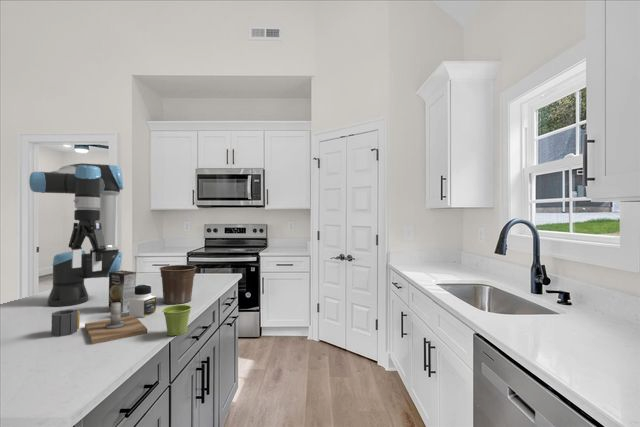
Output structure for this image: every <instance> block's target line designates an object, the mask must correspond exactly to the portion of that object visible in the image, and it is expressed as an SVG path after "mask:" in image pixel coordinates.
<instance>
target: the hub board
mask: <svg viewBox="0 0 640 427" xmlns="http://www.w3.org/2000/svg"><path fill="white" fill-rule="evenodd" d="M121 313H122V312H121V303H119V302H117V303H112V304H111V310H110V318H109V319H104V320H99V321H93V322H85V323H84V329H85V331H86V333H87V336H88V338H89V341H90V343H91V345H96V344H100V343H106V342H111V341H116V340H120V339H125V338H130V337H136V336H141V335H146V334H148V328H147V327H146V325H144V324H143V323H142V322H141V321H140V320H139V318H138V317H136V316H135V315H134V316H129V315H127V316H124V317H121V316H122V314H121Z"/></svg>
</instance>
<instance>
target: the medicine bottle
mask: <svg viewBox="0 0 640 427" xmlns="http://www.w3.org/2000/svg"><path fill="white" fill-rule="evenodd" d="M156 313H157V296H156V295H152V286H151V285H150V284H138V285H136V287H135V297H134V298H130V299H129V310H128V316H134V315H135V316H136V318H146V317H149V316H151V315H154V314H156Z"/></svg>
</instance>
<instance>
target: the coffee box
mask: <svg viewBox="0 0 640 427" xmlns="http://www.w3.org/2000/svg"><path fill="white" fill-rule="evenodd" d="M136 286H137V271H129V270H121V269H120V270H119V271H113V272H109V277H108V310H110V311H111V304H112V303H117V302H119V303H121V313H125V312H129V299H130V298H134V297H135V287H136Z"/></svg>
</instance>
